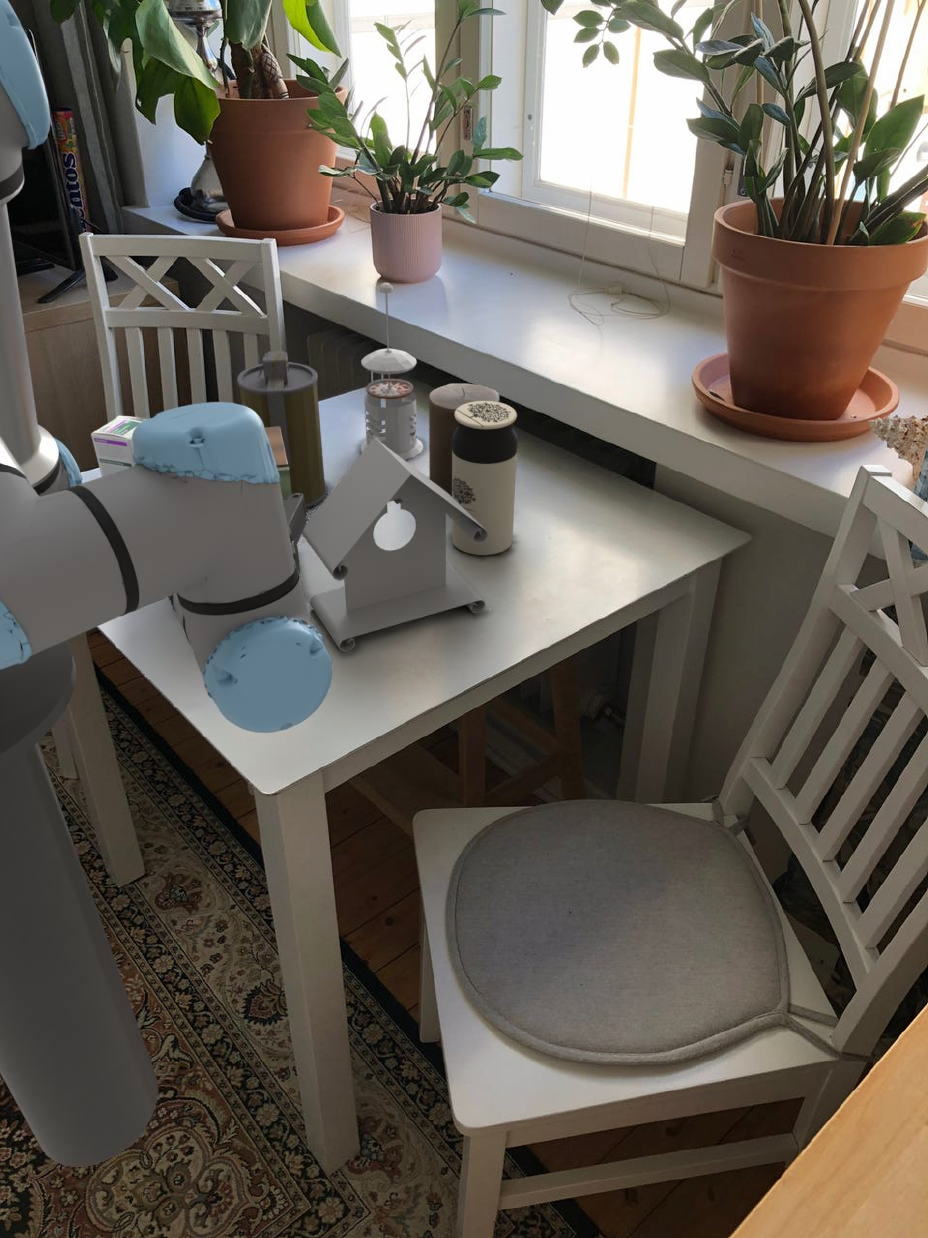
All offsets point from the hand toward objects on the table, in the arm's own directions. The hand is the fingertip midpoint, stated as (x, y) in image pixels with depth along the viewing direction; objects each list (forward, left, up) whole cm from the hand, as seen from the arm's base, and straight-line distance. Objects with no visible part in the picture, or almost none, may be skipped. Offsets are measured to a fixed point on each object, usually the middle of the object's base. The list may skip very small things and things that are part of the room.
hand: (176, 507), depth 85 cm
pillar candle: (-4, +52, -21) cm, 56 cm away
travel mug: (+7, +41, -21) cm, 47 cm away
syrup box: (-31, +17, -21) cm, 41 cm away
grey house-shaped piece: (+8, +22, -21) cm, 32 cm away
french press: (-21, +56, -21) cm, 63 cm away
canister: (-22, +35, -21) cm, 47 cm away
